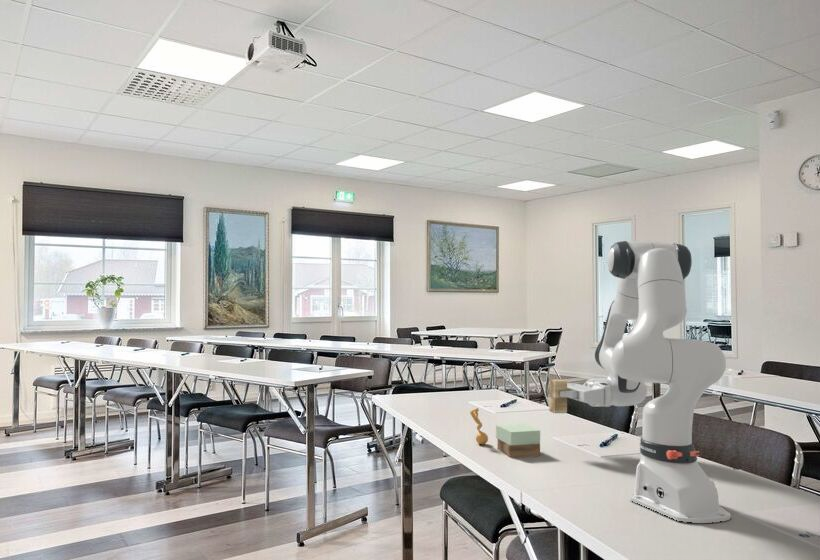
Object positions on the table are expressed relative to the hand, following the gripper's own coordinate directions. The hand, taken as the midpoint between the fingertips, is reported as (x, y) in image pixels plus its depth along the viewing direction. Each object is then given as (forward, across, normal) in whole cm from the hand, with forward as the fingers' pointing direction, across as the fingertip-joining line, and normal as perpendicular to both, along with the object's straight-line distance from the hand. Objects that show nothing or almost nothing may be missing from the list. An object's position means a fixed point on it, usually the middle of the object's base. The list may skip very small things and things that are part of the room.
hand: (555, 392), depth 186 cm
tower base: (+11, -4, +19) cm, 22 cm away
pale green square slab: (+11, -4, +15) cm, 19 cm away
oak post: (-1, 0, +6) cm, 6 cm away
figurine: (+20, -15, +19) cm, 31 cm away
